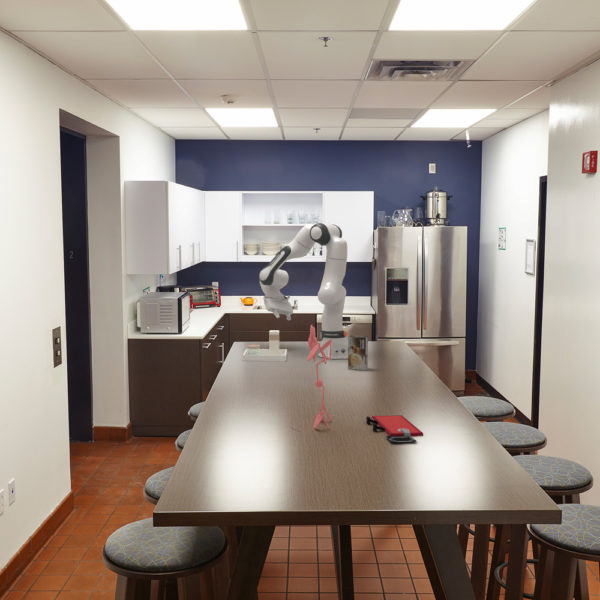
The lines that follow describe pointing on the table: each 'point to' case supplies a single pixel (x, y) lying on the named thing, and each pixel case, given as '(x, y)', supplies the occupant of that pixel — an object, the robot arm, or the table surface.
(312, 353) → the figurine
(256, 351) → the lidded jar
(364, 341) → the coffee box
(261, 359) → the tray
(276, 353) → the juice carton
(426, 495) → the table surface
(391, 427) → the red board with handle
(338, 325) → the robot arm
